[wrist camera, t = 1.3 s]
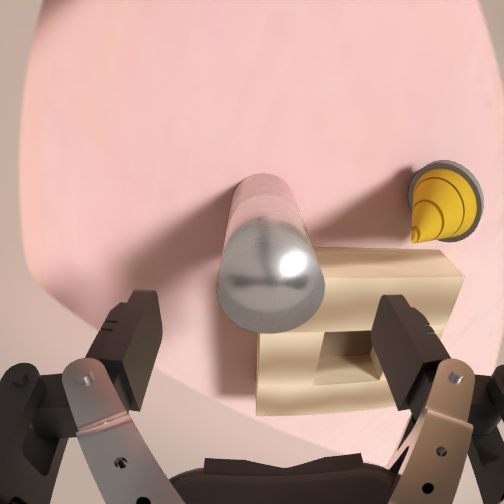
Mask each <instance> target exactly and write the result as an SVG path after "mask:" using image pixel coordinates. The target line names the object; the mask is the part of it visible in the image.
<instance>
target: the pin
mask: <svg viewBox="0 0 504 504" xmlns="http://www.w3.org/2000/svg"><path fill="white" fill-rule="evenodd" d="M324 294H325V280H324V276H323V273H322V270H321V268H320V265H319V262H318V259H317V257H316V254H315V251H314V248H313V246H312V243H311V240H310V238H309V235H308V232H307V230H306V227H305V224H304V222H303V219H302V217H301V214H300V211H299V209H298V206H297V204H296V201H295V199H294V196H293V194H292V191H291V189H290V188H289V186H288V185H287V184H286V183H285V182H284V181H283V180H282V179H280V178H279V177H277V176H274V175H271V174H255V175H252V176H250V177H248V178H246V179H244V180H243V181H242V182H241V183H240V184H239V185H238V186H237V188H236V189H235V191H234V194H233V197H232V202H231V208H230V213H229V219H228V225H227V230H226V236H225V242H224V248H223V254H222V260H221V266H220V272H219V278H218V284H217V297H218V301H219V304H220V306H221V308H222V310H223V312H224V313H225V314H226V316H227V317H228V318H229V319H230V320H231V321H232V322H234V323H235V324H237V325H238V326H240V327H242V328H244V329H246V330H249V331H252V332H256V333H262V334H276V333H282V332H286V331H290V330H292V329H295V328H297V327H299V326H301V325H302V324H304V323H305V322H307V321H308V320H309V319H310V318H311V317H312V316H313V315H314V314H315V313H316V312H317V310H318V309H319V307H320V306H321V303H322V301H323V298H324Z"/></svg>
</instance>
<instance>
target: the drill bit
mask: <svg viewBox="0 0 504 504" xmlns="http://www.w3.org/2000/svg"><path fill="white" fill-rule="evenodd" d="M408 202H409V208H410V211H411V214H412V231H411V243H419V242H426V241H432V240H439V241H443V242H457V241H460V240H463V239H465V238H466V237H468V236H469V235H470V234H472V233H473V232H474V230H475V229H476V227H477V226H478V223H479V221H480V219H481V216H482V213H483V208H484V198H483V193H482V190H481V187H480V185H479V183H478V181H477V179H476V178H475V176H474V175H473V174H472V173H471V172H470V171H469V170H468V169H467V168H465V167H464V166H462V165H460V164H458V163H456V162H453V161H449V160H439V161H434V162H432V163H430V164H428V165H426V166H425V167H424V168H422V169H421V170H420V171H418V172H417V174H416V175H415V176H414V178H413V180H412V181H411V184H410V187H409V192H408Z"/></svg>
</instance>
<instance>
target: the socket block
mask: <svg viewBox="0 0 504 504" xmlns="http://www.w3.org/2000/svg"><path fill="white" fill-rule="evenodd" d="M313 248H314V251H315V254H316V257H317V259H318V262H319V265H320V268H321V270H322V273H323V276H324V280H325V294H324V298H323V301H322V303H321V306H320V307H319V309H318V310H317V312H316V313H315V314H314V315H313V316H312V317H311V318H310V319H309V320H308V321H307V322H305V323H304V324H302V325H301V326H299V327H297V328H295V329H292V330H290V331H286V332H282V333H276V334H262V333H258V340H257V362H256V416H295V415H316V414H330V413H342V412H353V411H362V410H371V409H379V408H386V407H393V406H396V403H395V401H394V398H393V396H392V393H391V390H390V388H389V385H388V382H387V380H386V377H385V375H384V372H383V370H382V367H381V365H380V362H379V360H378V357H377V355H376V352H375V350H374V347H373V345H372V341H371V329H372V326H373V322H374V319H375V315H376V312H377V308H378V305H379V301H380V298H381V296H382V295H399V294H401V295H403V296H404V297H405V299H406V300H407V302H408V303H409V305H410V306H411V307H414V308H416V309H417V310H418V311H419V312H421V313H422V314H423V315H424V316H425V317H426V319H427V321H428V322H429V324H430V326H431V327H432V328H433V330H434V331H435V334H436V335H437V336H438V338H439V339H440V338H441V336H442V334H443V331H444V329H445V327H446V324H447V322H448V320H449V317H450V315H451V313H452V310H453V308H454V305H455V302H456V300H457V297H458V295H459V292H460V289H461V287H462V284H463V281H464V278H465V276H464V275H463V274H462V273H461V272H460V271H459V270H458V269H457V267H456V266H455V265H454V264H453V263H452V262H451V261H450V260H449V259H448V258H447V257H446V256H445V255H444V254H443V253H442V252H441V251H440V250H417V249H379V248H337V247H313Z"/></svg>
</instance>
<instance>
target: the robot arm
mask: <svg viewBox="0 0 504 504" xmlns="http://www.w3.org/2000/svg"><path fill="white" fill-rule="evenodd" d="M161 340H162V321H161V315H160V309H159V303H158V296H157V293H156V291H155V290H137V289H135V290H134V291H133V293H132V295H131V296H130V298H129V300H128V302H127V303H123V302H121V303H119V304H118V305H117V306H116V307H114V308H113V309H112V310H111V311H110V313H109V314H108V316H107V318H106V320H105V322H104V323H103V325H102V327H101V330H99V332H98V334H97V336H96V338H95V340H94V341H93V343H92V345H91V347H90V349H89V351H88V353H87V355H86V357H85V358H82V359H78V360H76V361H74V362H72V363H70V364H69V365H68V366H67V367H66V368H65V370H64V371H63V373H62V374H52V375H40V374H39V372H38V370H37V369H36V367H35V366H33V365H32V364H29V363H19V364H16V365H14V366H12V367H11V368H9V369H8V370H7V371H6V372H5V374H4V375H3V377H2V379H1V380H0V504H50V500H51V497H52V492H53V489H54V485H55V482H56V478H57V474H58V471H59V467H60V464H61V461H62V457H63V454H64V451H65V447H66V444H67V441H68V438H70V437H77V438H78V441H79V444H80V446H81V449H82V452H83V454H84V457H85V459H86V461H87V464H88V466H89V468H90V471H91V473H92V475H93V477H94V480H95V482H96V484H97V486H98V488H99V490H100V492H101V495H102V497H103V499H104V501H105V503H106V504H452V503H453V500H454V497H455V494H456V491H457V488H458V485H459V482H460V479H461V475H462V472H463V468H464V464H465V461H466V457H467V454H468V456H469V459H470V462H471V465H472V468H473V471H474V474H475V477H476V480H477V484H478V487H479V490H480V493H481V497H482V500H483V504H504V442H503V439H502V437H501V435H500V432H499V430H498V428H497V424H498V423H499V422H500V421H501V419H502V420H503V422H504V365H500V366H498V367H497V368H496V369H495V371H494V372H493V374H492V376H484V375H475V374H474V372H473V370H472V369H471V367H470V366H469V365H467V364H466V363H464V362H463V361H460V360H457V359H451V357H450V356H449V354H448V352H447V351H446V349H445V347H444V346H443V344H442V343H441V341H440V339H439V338H438V336H437V335H436V334H435V331H434V330H433V328H432V327H431V326H430V324H429V322H428V321H427V319H426V317H425V316H424V315H423V314H422V313H421V312H419V311H418V310H417V309H416V308H414V307H411V306H410V305H409V303H408V302H407V300H406V299H405V297H404V296H403V295H401V294H399V295H382V296H381V298H380V301H379V305H378V308H377V312H376V315H375V319H374V322H373V326H372V329H371V341H372V345H373V347H374V350H375V352H376V355H377V357H378V360H379V362H380V365H381V367H382V370H383V372H384V375H385V377H386V380H387V382H388V385H389V388H390V390H391V393H392V396H393V398H394V401H395V403H396V406H397V409H398V411H401V410H407V409H410V410H411V413H412V414H411V416H410V417H409V419H408V421H407V424H406V426H405V428H404V431H403V433H402V435H401V438H400V440H399V442H398V444H397V446H396V448H395V451H394V453H393V455H392V457H391V459H390V460H389V462H388V464H387V465H386V467H385V468H384V467H381V466H377V465H374V464H368V463H363V460H362V456H361V453H358V454H350V455H341V456H332V457H324V458H321V459H318V460H314V461H311V462H307V463H304V464H301V465H297V466H293V467H289V468H280V467H275V466H270V465H264V464H260V463H256V462H251V461H247V460H231V459H211V458H205V462H204V468H198V469H194V470H190V471H186V472H183V473H181V474H178V475H176V476H174V477H172V478H171V479H169V480H168V478H167V477H166V475H165V474H164V472H163V470H162V469H161V467H160V466H159V464H158V463H157V461H156V460H155V458H154V456H153V455H152V453H151V451H150V450H149V448H148V446H147V445H146V443H145V442H144V440H143V438H142V436H141V434H140V433H139V431H138V429H137V428H136V426H135V424H134V422H133V420H132V418H131V417H130V415H129V413H128V412H129V410H133V411H140V409H141V406H142V403H143V399H144V396H145V392H146V389H147V386H148V382H149V379H150V376H151V373H152V369H153V366H154V363H155V360H156V356H157V353H158V350H159V347H160V344H161Z"/></svg>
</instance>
